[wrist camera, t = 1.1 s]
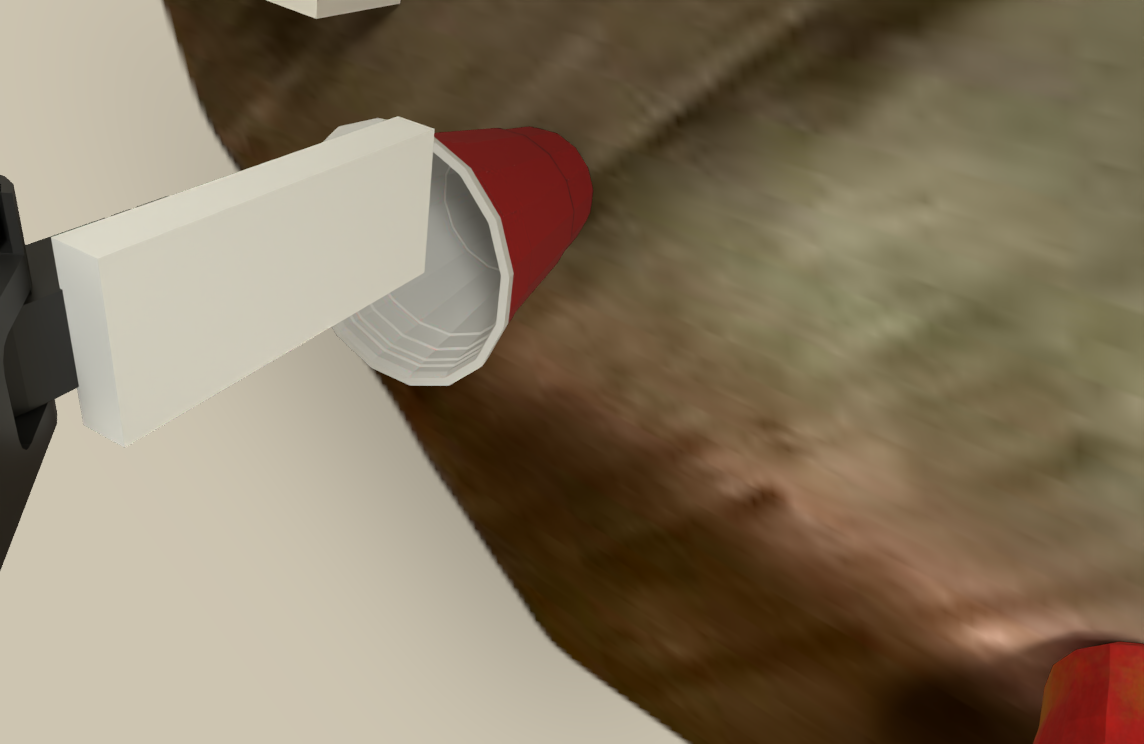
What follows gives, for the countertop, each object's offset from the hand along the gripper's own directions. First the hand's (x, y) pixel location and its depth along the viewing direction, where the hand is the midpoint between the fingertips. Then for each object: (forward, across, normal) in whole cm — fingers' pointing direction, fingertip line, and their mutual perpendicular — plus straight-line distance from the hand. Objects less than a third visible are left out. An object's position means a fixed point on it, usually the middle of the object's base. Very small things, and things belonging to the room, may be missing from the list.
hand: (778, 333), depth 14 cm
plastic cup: (+26, -17, -10) cm, 33 cm away
